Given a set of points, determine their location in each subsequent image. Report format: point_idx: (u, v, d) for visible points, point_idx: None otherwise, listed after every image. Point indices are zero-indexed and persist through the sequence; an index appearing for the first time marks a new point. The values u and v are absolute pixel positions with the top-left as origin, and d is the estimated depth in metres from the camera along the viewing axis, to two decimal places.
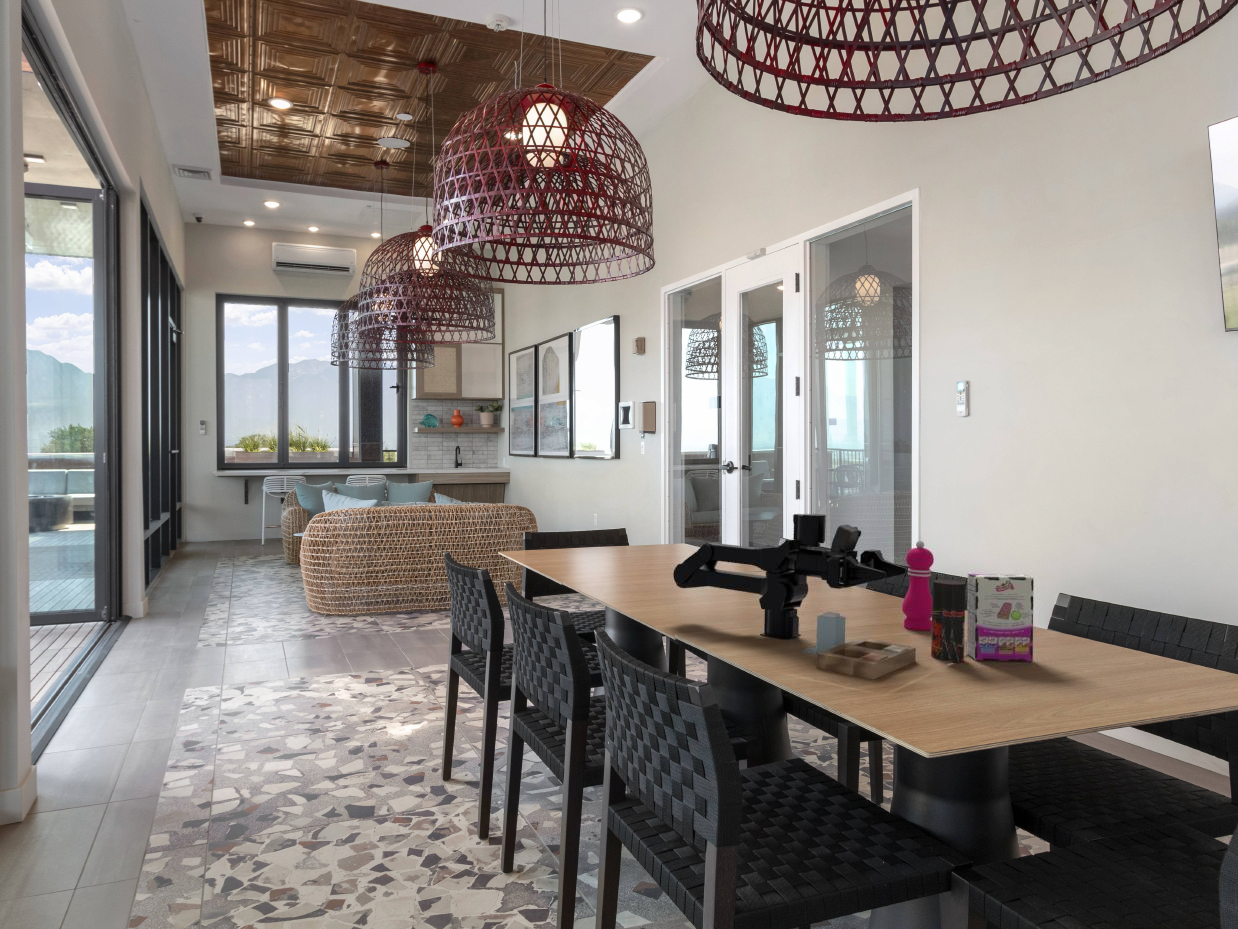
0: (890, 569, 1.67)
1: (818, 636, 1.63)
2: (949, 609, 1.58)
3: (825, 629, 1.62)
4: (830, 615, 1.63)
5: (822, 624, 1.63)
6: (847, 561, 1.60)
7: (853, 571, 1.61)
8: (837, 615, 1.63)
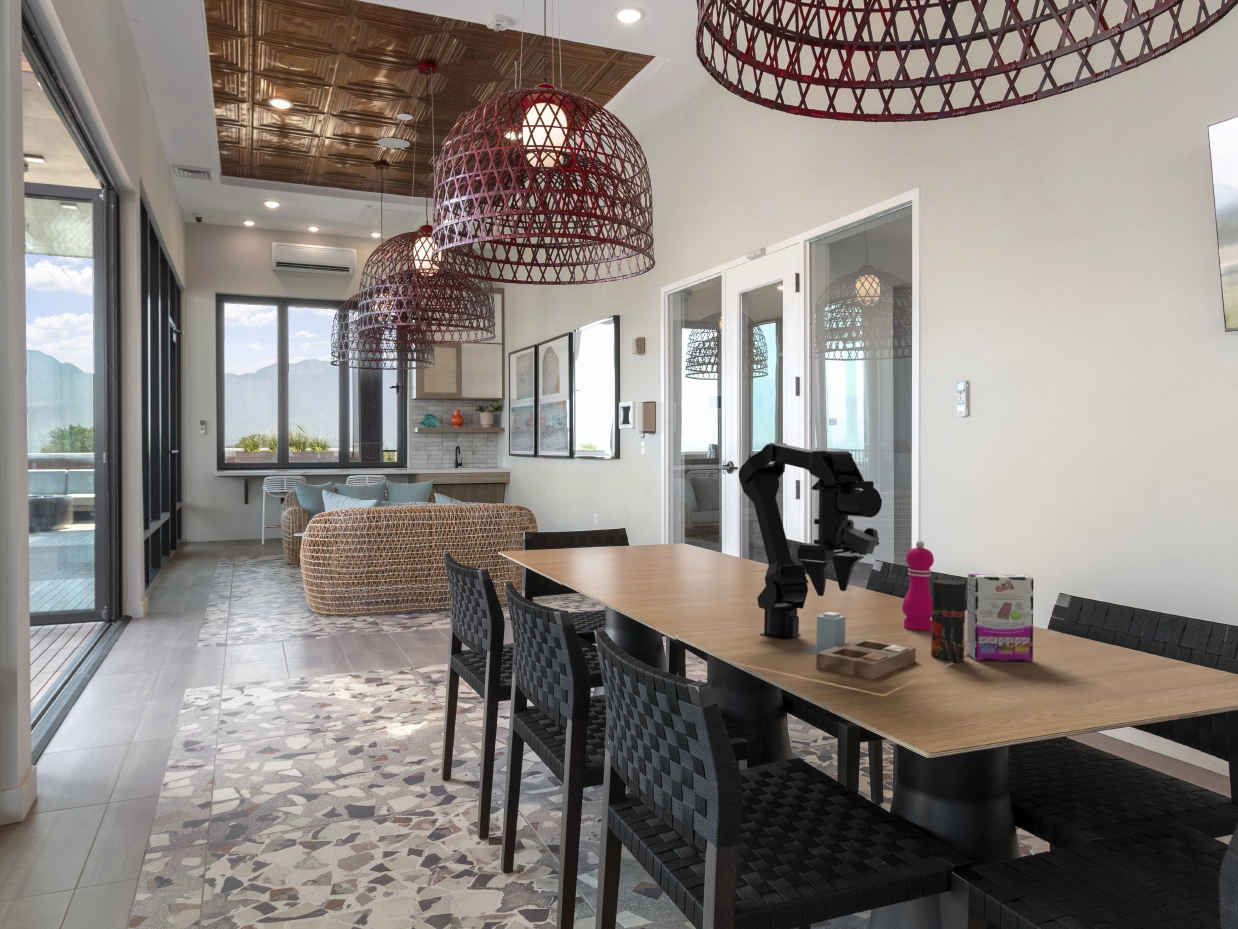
0: (843, 575, 1.67)
1: (818, 636, 1.63)
2: (949, 609, 1.58)
3: (825, 629, 1.62)
4: (830, 615, 1.63)
5: (822, 624, 1.63)
6: (823, 565, 1.57)
7: (819, 565, 1.59)
8: (837, 615, 1.63)
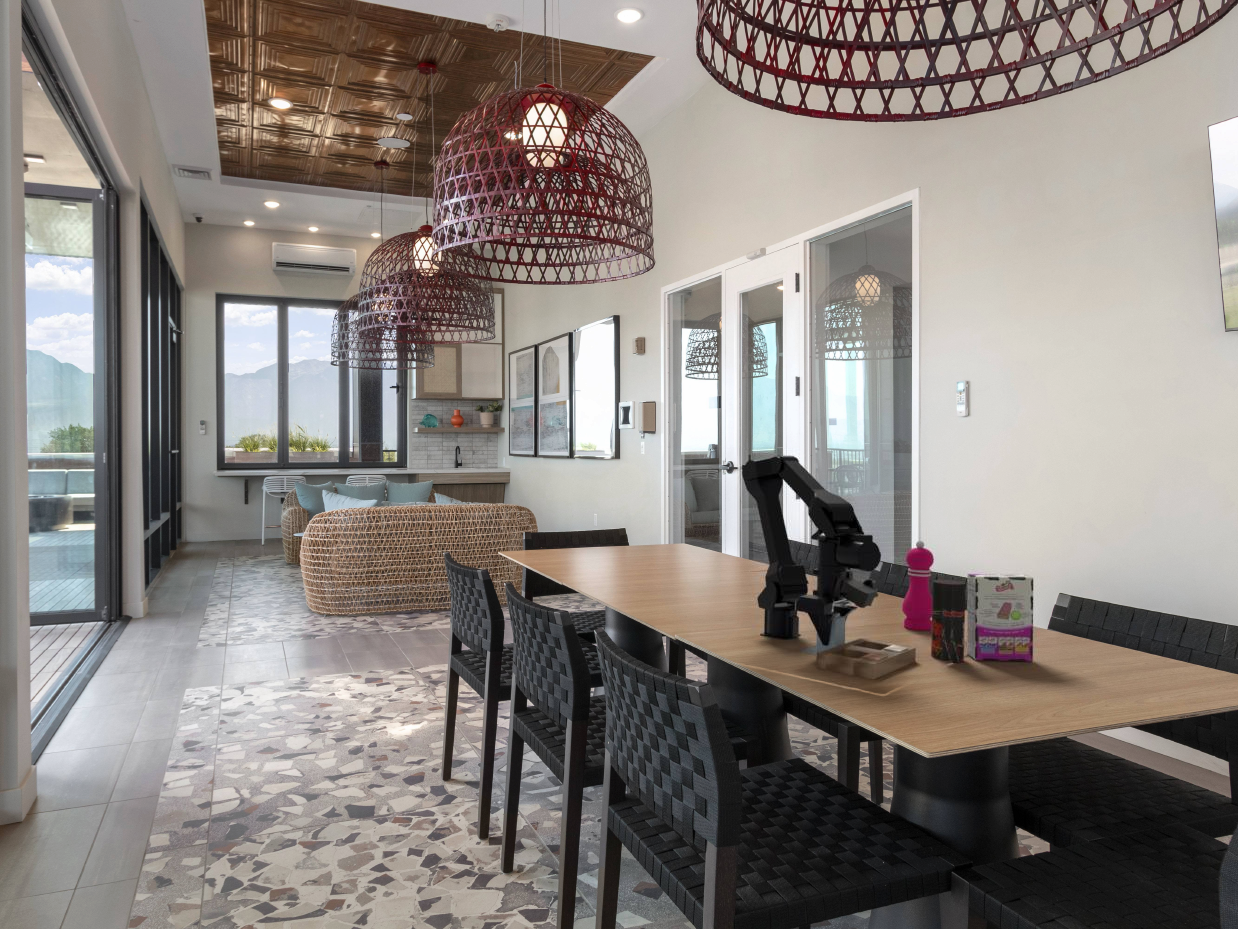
0: None
1: (818, 636, 1.63)
2: (949, 609, 1.58)
3: None
4: None
5: None
6: (828, 616, 1.58)
7: (823, 615, 1.61)
8: (837, 615, 1.63)
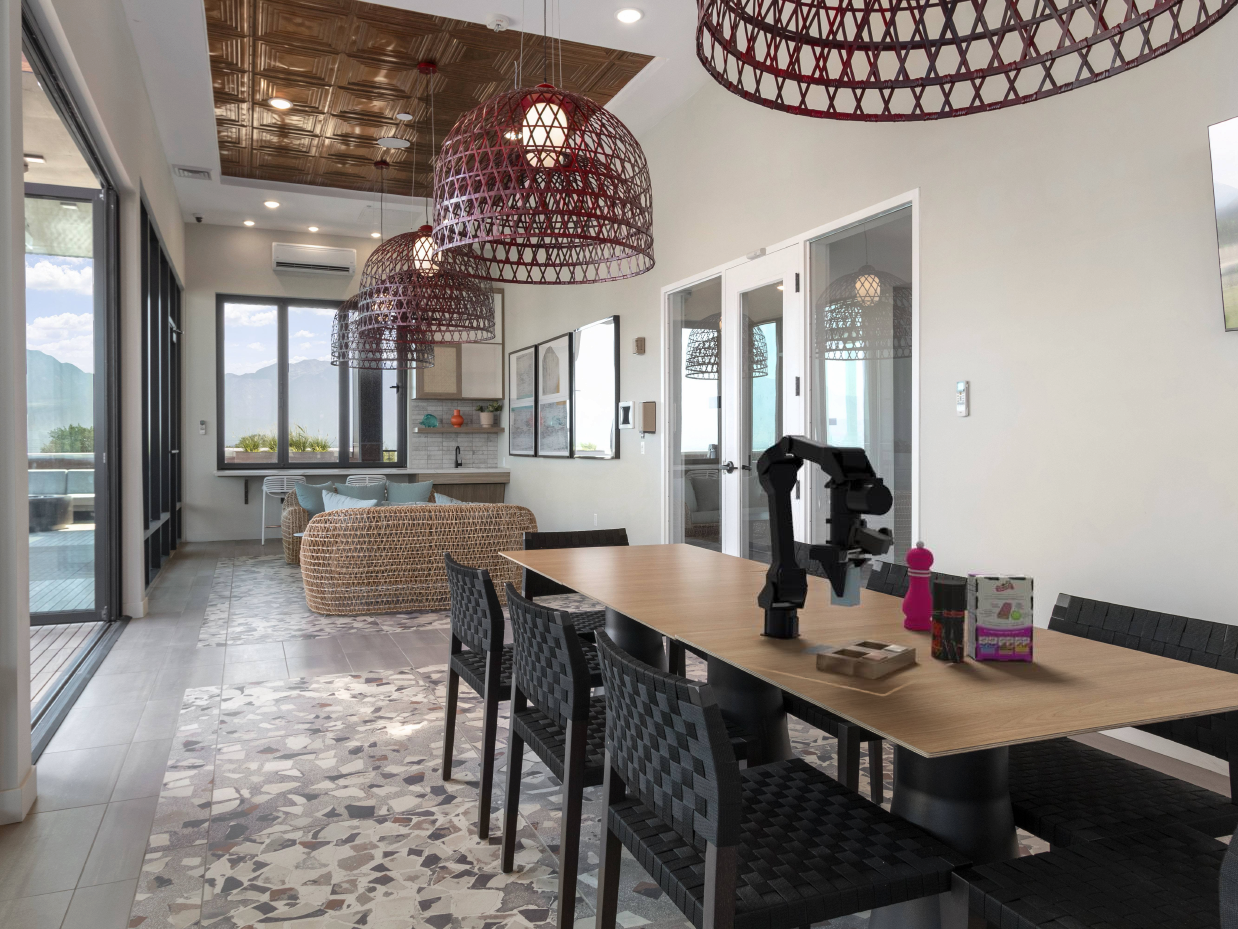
0: None
1: (832, 588, 1.56)
2: (949, 609, 1.58)
3: None
4: None
5: None
6: (843, 564, 1.51)
7: (837, 565, 1.54)
8: (851, 566, 1.56)
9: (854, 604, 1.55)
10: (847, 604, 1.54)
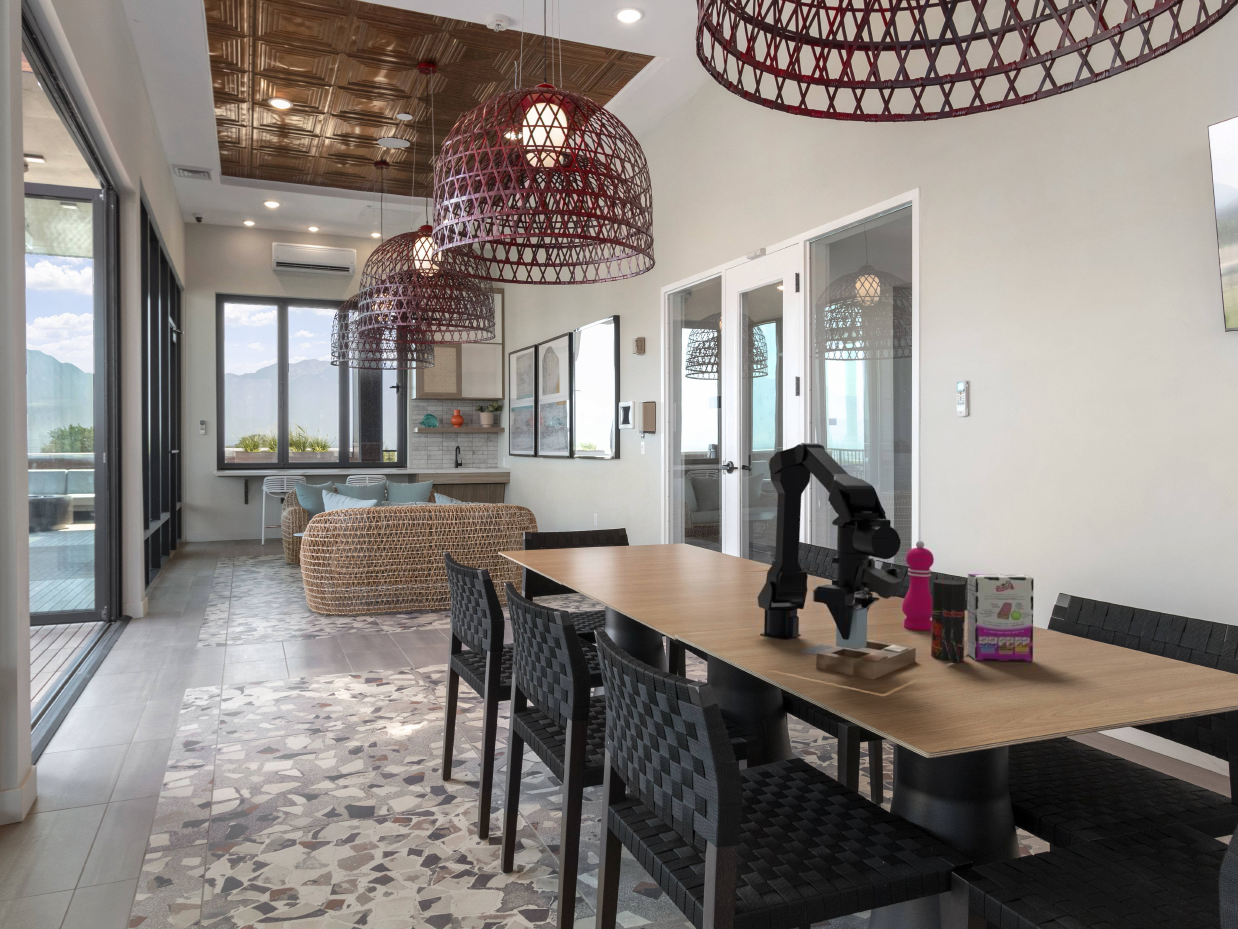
0: None
1: None
2: (949, 609, 1.58)
3: None
4: None
5: None
6: (849, 607, 1.46)
7: (844, 607, 1.49)
8: (858, 606, 1.51)
9: (860, 646, 1.50)
10: (853, 647, 1.49)
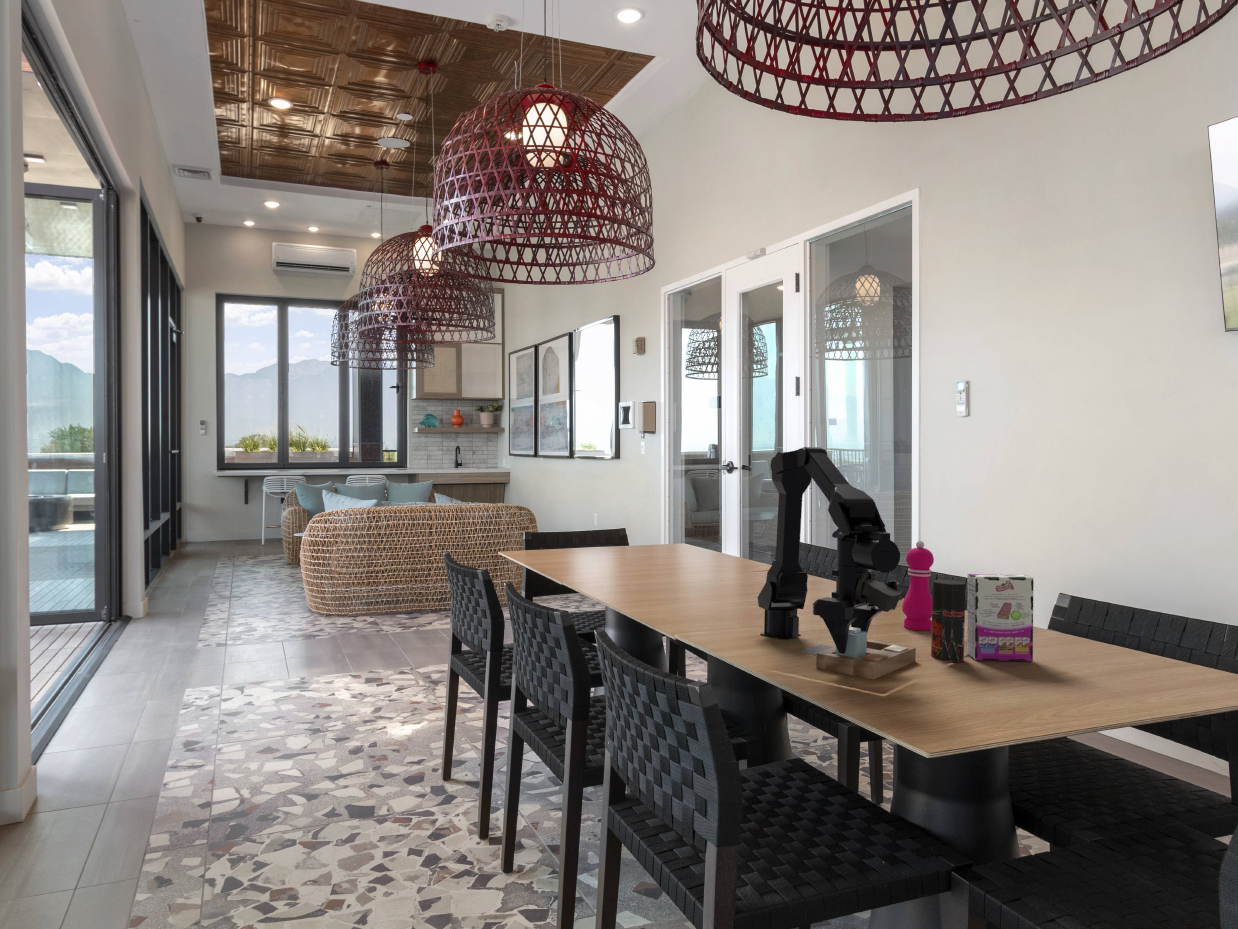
0: None
1: (837, 653, 1.51)
2: (949, 609, 1.58)
3: None
4: (850, 630, 1.51)
5: None
6: (845, 621, 1.45)
7: (840, 621, 1.48)
8: (858, 630, 1.51)
9: None
10: None
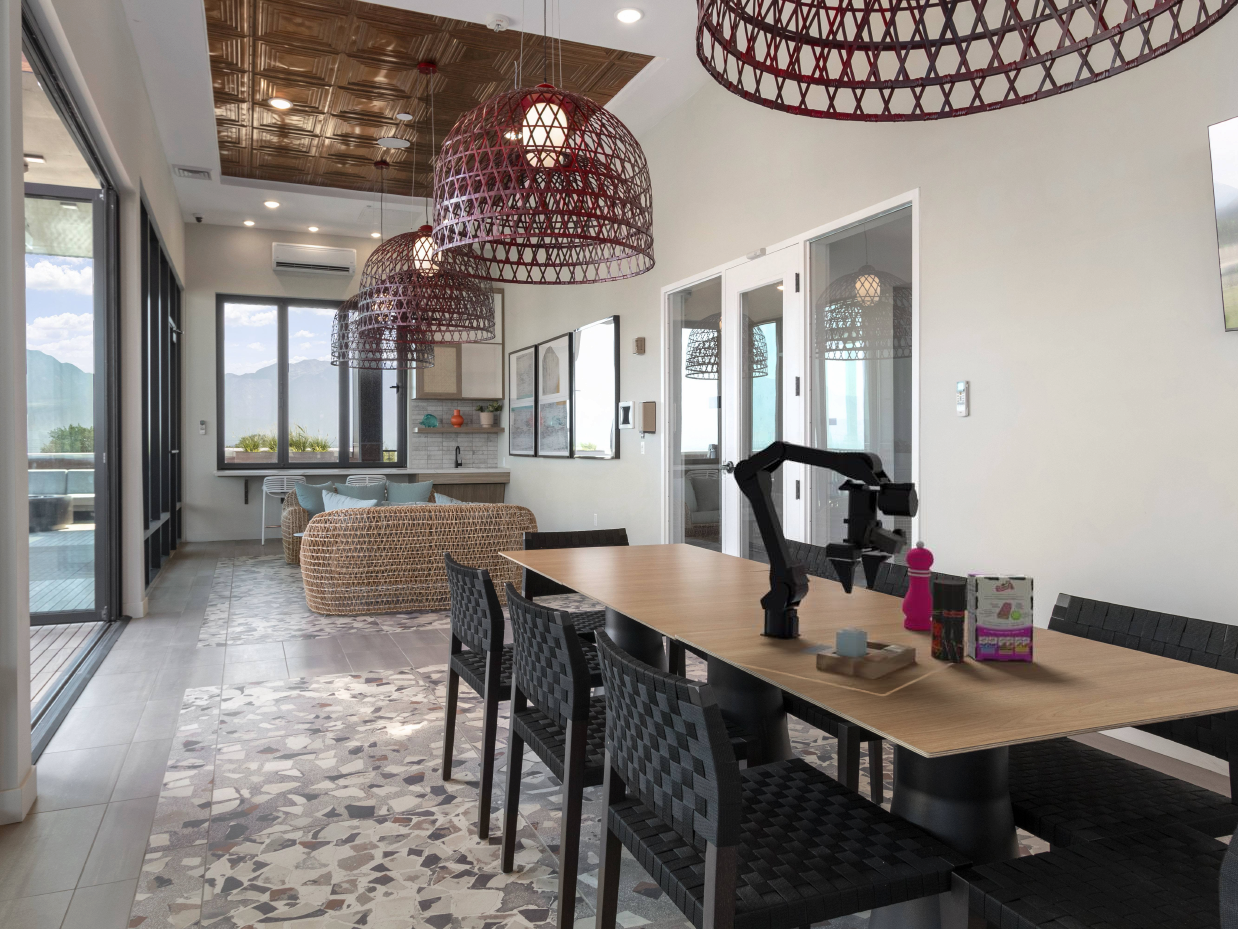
0: (871, 573, 1.71)
1: (837, 653, 1.51)
2: (949, 609, 1.58)
3: (845, 645, 1.50)
4: (850, 630, 1.51)
5: (842, 640, 1.51)
6: (851, 563, 1.61)
7: (847, 564, 1.63)
8: (858, 630, 1.51)
9: None
10: None
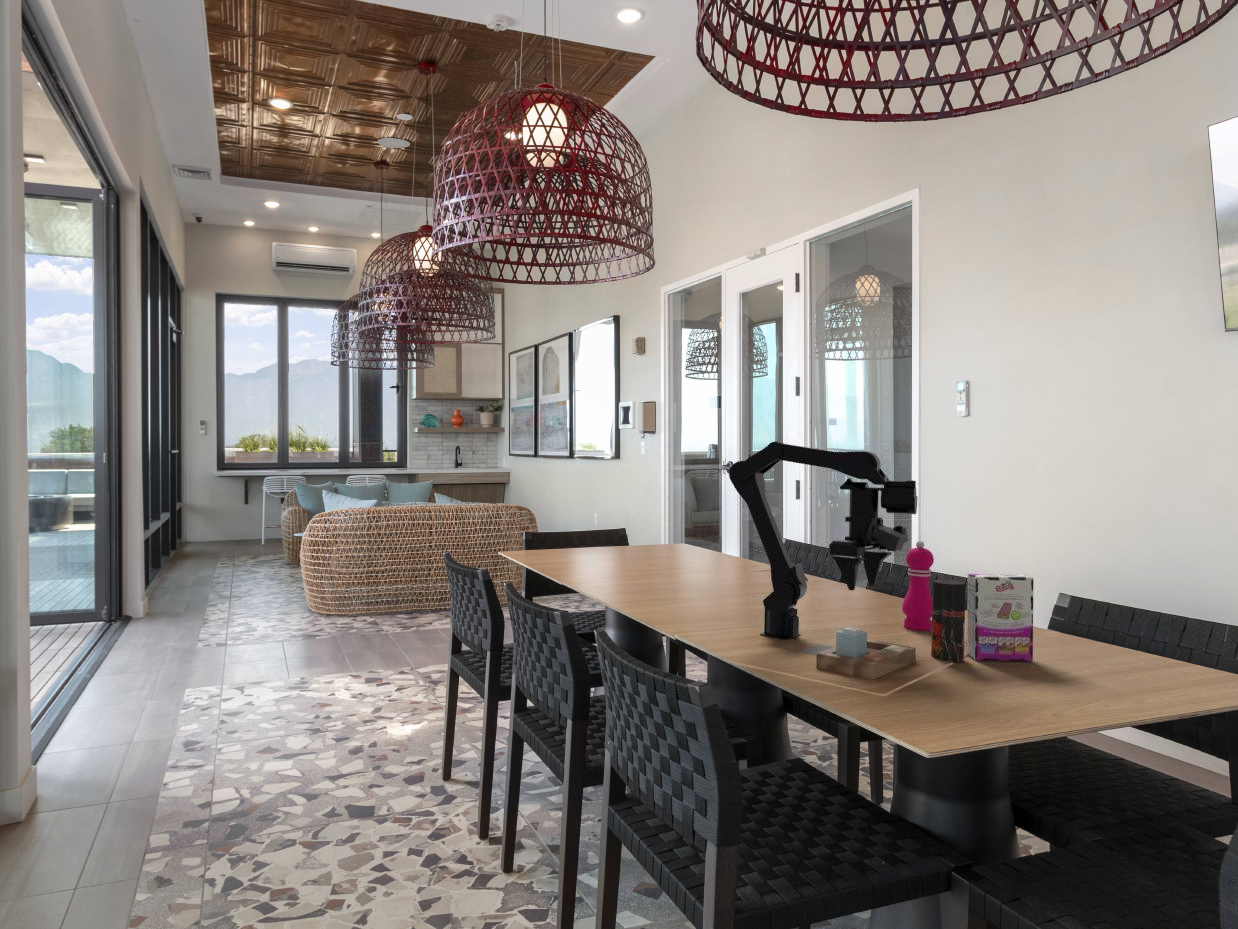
0: (871, 570, 1.75)
1: (837, 653, 1.51)
2: (949, 609, 1.58)
3: (845, 646, 1.50)
4: (850, 630, 1.51)
5: (842, 640, 1.51)
6: (855, 560, 1.64)
7: (850, 561, 1.67)
8: (858, 630, 1.51)
9: None
10: None
